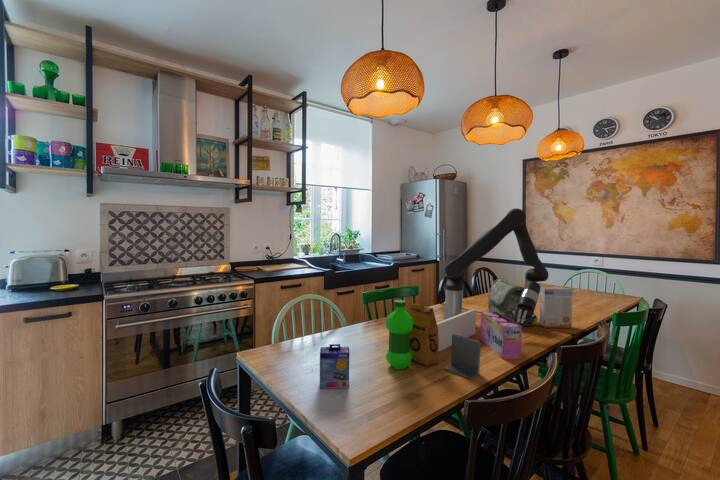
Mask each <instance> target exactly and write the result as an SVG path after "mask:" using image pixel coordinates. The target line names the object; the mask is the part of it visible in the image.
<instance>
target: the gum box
mask: <svg viewBox="0 0 720 480" xmlns="http://www.w3.org/2000/svg"><path fill="white" fill-rule="evenodd" d="M479 329H480V330H479V331H480V333H479V334H480V335H479V341H480V342H482V343H483V344H484V345H486V346H487V347H488V348H489V349H490V350H492V352H493V353H495V354H496V355H497V356H498V357H499V358H501V359H502V360H521V359H522V337H523V336H522V335H523V330H522V326H521V325H519V324H517V323H515V322H514V321H512V320H510V319H508V318H507V317H505V316H503V315H501V314H500V313H498V312H496V311H493V312H492V313H489V311H487V312H486V311H485V312H483V311H480V328H479Z"/></svg>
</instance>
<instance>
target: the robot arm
mask: <svg viewBox="0 0 720 480" xmlns="http://www.w3.org/2000/svg"><path fill="white" fill-rule="evenodd" d="M526 221H527V214H526V213H525V212H524V211H523V210H522V209H521V208H517V207H515V208H512V209H510V210H509V211H508V212H507V213H506V215H505V216H504V217H503V218H502V219H501V220H500V221H499V222H498V223H497V224H496V225H494V226H493V227H491V228H490V229H488V230H487V231H485V232H483V233H482V234H481V235H480V236H479V237H477V238H476V239H475V240H474V241H473V242H472V243H471V244H469V246H468V247H467V248H466V249H465V250H464V251H463V252H462V253H461V254H460V255H458V256H457V257H455V258H454V259H453V260H451V261H449V262H448V263H447V264H446V266H445V268H444V273H445V275H446V284H445V301H444V302H443V320H446V319H448V318H451V317H453V316H456V315H459V314H461V313H463V299H464V298H463V292H464V291H463V289H464V277H465V270H466V269H467V268H469V267H470V266H471V265H472V264H473V263H475V262H477V261H478V260H480V259H481V258H483V257H484V256H485V255H487V254H488V253H489V252H490V251H492V250H493V249H494V248H495V247H496V246H498V245H499V243H500V242H502V240H504V238H506V237H507V236H508V235H509V234H510V233H512V232H513V233H514V235H515V239H516V241H517V244H518V245H517V246H518V247H519V252H520V254H521V257H522V260H523V262H524V264H525V265H526V266H531V267H533V268H529V269H527V270H526V271H525V273H524V281H525V283H524V286H523V288H524V290H523V292H522V294H521V297H520V300H519V302H518V305H517V308H516V309H515V311H510V314H511V316H512V318H513V320H514V322H515V323H517V324H519V325H521V326H522V331H523V329H524V325H527V327H529V326H528V325H530V324H532V323H533V324H534V323H536V322H537V321H538V320H539V319H538V316H537V315H536V314H535V310H536V307H537V303H538V300H539V299H538V298H539V296H540V287H541V284H540V283H539V282H546V281H548V280H549V276H550V275H549V271H548V269H547V268H546V266H545V265H544V263H543V262H542V261H541V259H540V258H539V255H538V252H537V250H536V247H535V245H534V243H533V240H532V238H531V236H530V234H529V231H528V227H527V222H526ZM515 313H516V314H517V316H518V319H517V320H516V318H515ZM529 318H530V319H529ZM527 319H528V320H527ZM530 326H531V325H530Z"/></svg>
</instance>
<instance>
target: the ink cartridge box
mask: <svg viewBox="0 0 720 480" xmlns="http://www.w3.org/2000/svg"><path fill="white" fill-rule="evenodd" d="M349 388H350V347H349V346H341V343H337V344H333V343H331V344H329V346H322V347H320V351H319V389H320V390H322V389H349Z"/></svg>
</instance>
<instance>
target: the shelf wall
mask: <svg viewBox="0 0 720 480" xmlns="http://www.w3.org/2000/svg"><path fill="white" fill-rule="evenodd" d="M476 316H477V309H474V308H472V309H470V310H467V311H464V312H462V313H461V314H459V315H456V316H453V317H451V318H448V319H442V320H441V321H437V326H438V339H439V349H438V353H439V352H441V351H443V350H445V349H447V348H449V347H452V335H453V334H455V335H459V336H463V337H466V338H469V337H471V336H473V335H475V334H476V323H477V322H476V319H477V318H476Z"/></svg>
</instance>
